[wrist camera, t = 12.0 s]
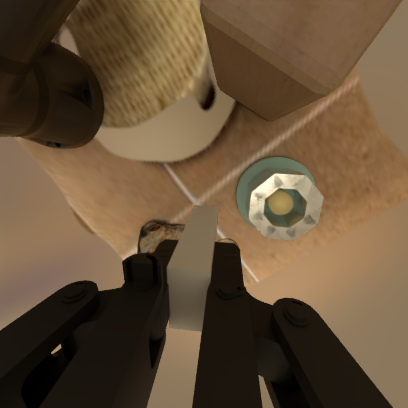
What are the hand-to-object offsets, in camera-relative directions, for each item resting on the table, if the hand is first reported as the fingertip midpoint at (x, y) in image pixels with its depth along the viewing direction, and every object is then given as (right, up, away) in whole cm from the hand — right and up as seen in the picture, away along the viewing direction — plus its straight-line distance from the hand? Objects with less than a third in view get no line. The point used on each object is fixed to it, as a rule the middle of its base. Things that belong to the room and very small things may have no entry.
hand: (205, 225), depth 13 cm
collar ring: (+11, +3, +19) cm, 22 cm away
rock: (-7, -5, +26) cm, 27 cm away
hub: (+11, +3, +21) cm, 24 cm away
